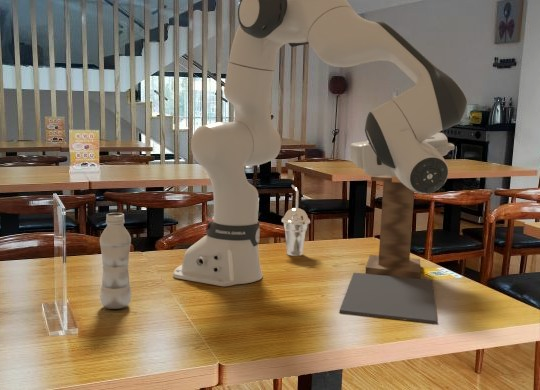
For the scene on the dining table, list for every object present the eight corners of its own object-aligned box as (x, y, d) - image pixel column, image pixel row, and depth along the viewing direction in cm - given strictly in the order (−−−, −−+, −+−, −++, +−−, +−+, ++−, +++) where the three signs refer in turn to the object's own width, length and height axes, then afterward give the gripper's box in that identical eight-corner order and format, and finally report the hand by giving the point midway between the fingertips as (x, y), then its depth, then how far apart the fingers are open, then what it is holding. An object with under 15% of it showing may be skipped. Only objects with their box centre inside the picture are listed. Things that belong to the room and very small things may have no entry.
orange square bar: (391, 182, 141) (392, 169, 141) (394, 173, 160) (395, 162, 160) (404, 182, 141) (405, 170, 140) (405, 173, 160) (406, 162, 159)
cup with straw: (277, 256, 171) (279, 188, 168) (283, 249, 179) (286, 184, 176) (306, 258, 169) (309, 190, 166) (311, 251, 178) (314, 185, 175)
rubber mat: (339, 312, 126) (339, 310, 125) (353, 274, 154) (353, 272, 154) (436, 323, 121) (436, 320, 121) (432, 282, 150) (432, 280, 150)
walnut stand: (365, 274, 155) (371, 176, 151) (369, 261, 168) (374, 171, 164) (420, 280, 151) (427, 180, 147) (419, 266, 165) (426, 174, 161)
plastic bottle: (100, 313, 121) (98, 217, 117) (100, 302, 127) (99, 211, 124) (132, 311, 122) (131, 217, 119) (130, 301, 129) (130, 211, 126)
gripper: (457, 133, 118) (436, 121, 131) (356, 146, 118) (345, 132, 131) (458, 163, 120) (437, 148, 133) (358, 176, 120) (347, 159, 133)
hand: (390, 140), depth 132 cm, fingers open, 8 cm apart
